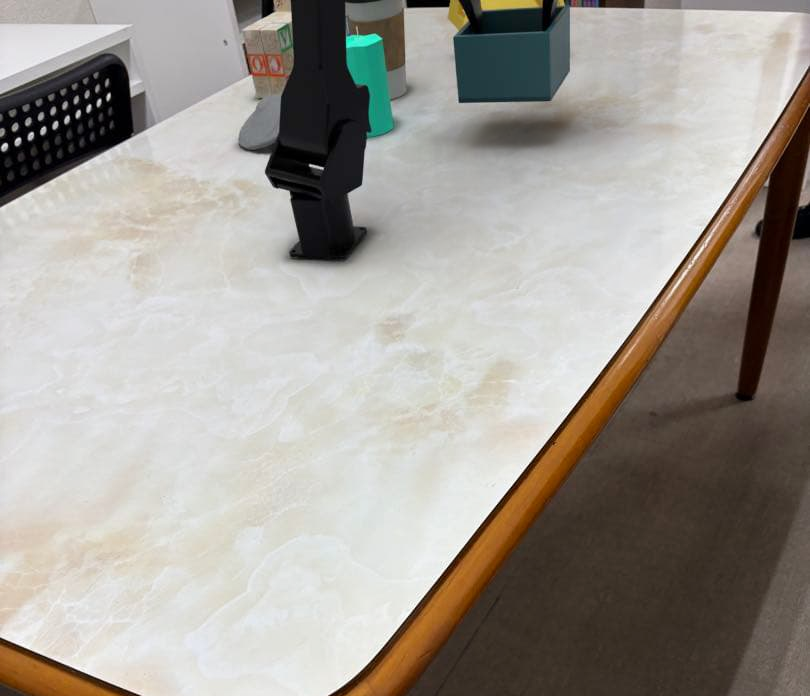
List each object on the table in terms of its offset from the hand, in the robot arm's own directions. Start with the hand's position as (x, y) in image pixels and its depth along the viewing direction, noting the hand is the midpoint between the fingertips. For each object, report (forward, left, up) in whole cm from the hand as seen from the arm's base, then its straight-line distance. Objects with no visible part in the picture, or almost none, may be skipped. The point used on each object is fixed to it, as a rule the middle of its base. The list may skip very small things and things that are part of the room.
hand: (512, 38), depth 98 cm
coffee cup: (+14, +23, -11) cm, 29 cm away
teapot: (+28, +9, -11) cm, 32 cm away
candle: (+1, +20, -11) cm, 23 cm away
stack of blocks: (+23, +39, -11) cm, 47 cm away
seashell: (-2, +33, -11) cm, 35 cm away
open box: (-5, 0, -2) cm, 5 cm away
